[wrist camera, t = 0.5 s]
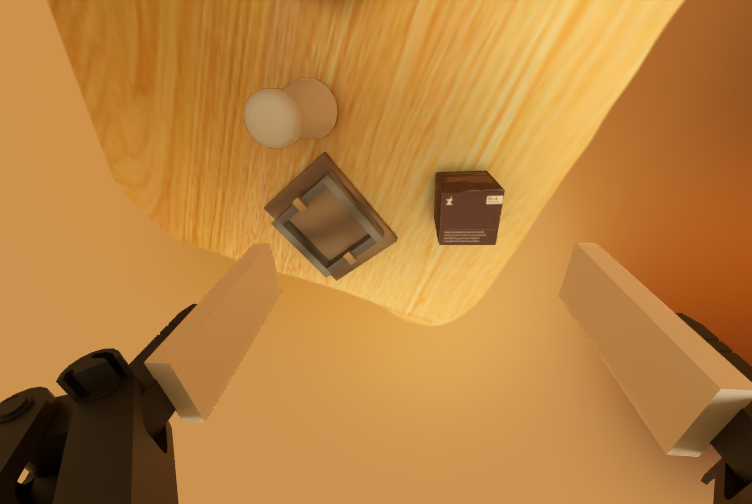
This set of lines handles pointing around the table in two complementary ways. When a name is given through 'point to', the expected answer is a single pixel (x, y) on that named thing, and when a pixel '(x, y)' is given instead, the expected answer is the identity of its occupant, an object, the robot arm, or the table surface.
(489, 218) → the box
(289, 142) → the salt shaker
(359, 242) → the base
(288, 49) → the table surface
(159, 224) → the table surface
